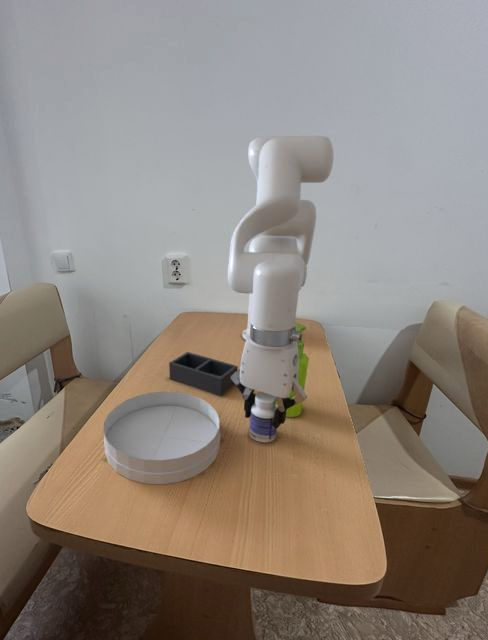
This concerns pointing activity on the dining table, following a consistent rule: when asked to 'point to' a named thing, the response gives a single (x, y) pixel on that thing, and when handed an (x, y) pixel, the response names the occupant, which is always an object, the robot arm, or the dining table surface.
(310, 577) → the dining table surface
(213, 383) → the holder
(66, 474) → the dining table surface
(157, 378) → the dining table surface
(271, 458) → the dining table surface
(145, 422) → the dish
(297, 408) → the soap dispenser
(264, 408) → the pill bottle
